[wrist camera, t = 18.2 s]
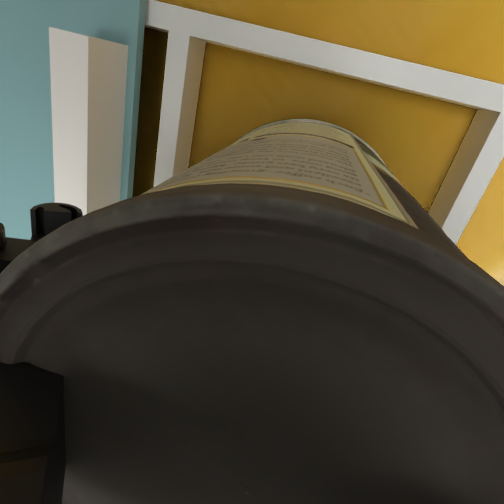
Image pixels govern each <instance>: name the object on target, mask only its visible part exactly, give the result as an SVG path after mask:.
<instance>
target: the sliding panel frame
mask: <svg viewBox="0 0 504 504" xmlns="http://www.w3.org/2000/svg"><path fill="white" fill-rule="evenodd" d="M145 27H147V28H151V29H155V30H159V31H163V32H167V33H168V44H167V54H166V64H165V74H164V84H163V95H162V105H161V115H160V125H159V135H158V145H157V156H156V166H155V176H154V186H153V187H155V186H157V185H159V184H161V183H162V182H164V181H166V180H167V179H169V178H171V177H173V176H175V175H177V174H179V173H181V172H182V171H184V170H186V169H188V166H189V159H190V152H191V145H192V138H193V131H194V124H195V117H196V110H197V103H198V96H199V88H200V81H201V74H202V67H203V60H204V53H205V46H206V42H207V43H211V44H215V45H219V46H223V47H227V48H232V49H236V50H240V51H244V52H248V53H252V54H256V55H260V56H264V57H268V58H272V59H276V60H280V61H284V62H288V63H292V64H296V65H300V66H304V67H308V68H312V69H316V70H320V71H325V72H329V73H333V74H337V75H341V76H345V77H349V78H353V79H357V80H361V81H365V82H369V83H373V84H377V85H381V86H385V87H389V88H393V89H397V90H401V91H405V92H409V93H413V94H418V95H422V96H426V97H430V98H434V99H438V100H442V101H446V102H450V103H454V104H458V105H462V106H466V107H470V108H474V109H478V110H477V112H476V114H475V116H474V118H473V120H472V122H471V124H470V127H469V129H468V131H467V133H466V135H465V137H464V139H463V141H462V143H461V145H460V147H459V149H458V152H457V154H456V156H455V158H454V160H453V162H452V164H451V166H450V168H449V170H448V172H447V174H446V177H445V179H444V181H443V183H442V185H441V187H440V189H439V191H438V193H437V195H436V197H435V199H434V202H433V204H432V206H431V208H430V210H429V212H428V214H429V215H430V216H431V217H432V218H433V220H434V221H435V222H436V223H437V224H438V225H439V226H440V227H441V228H442V230H443V231H444V232H445V234H446V235H447V236H448V237H449V238H450V239H451V240H452V241H453V242H454V243H455V245H456V244H457V242H458V240H459V238H460V236H461V234H462V233H463V231H464V229H465V227H466V225H467V223H468V221H469V220H470V218H471V216H472V214H473V212H474V210H475V209H476V207H477V205H478V203H479V201H480V199H481V197H482V196H483V194H484V192H485V190H486V188H487V186H488V185H489V183H490V181H491V179H492V177H493V175H494V173H495V172H496V170H497V168H498V166H499V164H500V162H501V161H502V159H503V157H504V85H503V84H499V83H495V82H491V81H486V80H482V79H478V78H474V77H470V76H466V75H462V74H457V73H453V72H449V71H445V70H441V69H437V68H433V67H428V66H424V65H420V64H416V63H412V62H408V61H404V60H399V59H395V58H391V57H387V56H383V55H379V54H375V53H371V52H366V51H362V50H358V49H354V48H350V47H346V46H342V45H337V44H333V43H329V42H325V41H321V40H317V39H313V38H308V37H304V36H300V35H296V34H292V33H288V32H284V31H279V30H275V29H271V28H267V27H263V26H259V25H255V24H250V23H246V22H242V21H238V20H234V19H230V18H226V17H221V16H217V15H213V14H209V13H205V12H201V11H197V10H192V9H188V8H184V7H180V6H176V5H172V4H168V3H163V2H159V1H155V0H146V13H145Z"/></svg>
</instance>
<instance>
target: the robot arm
mask: <svg viewBox="0 0 504 504" xmlns="http://www.w3.org/2000/svg"><path fill="white" fill-rule="evenodd" d="M30 216H31V232H32V237H31V239H30V240H28V239H18V238H10V237H6V236H5V227H4V225H3V224H2V223H0V274H1V272H2V271H3V270H4V269H5V268H6V267H7V266H8V265H9V264H10V263H11V262H12V261H13V260H14V259H15V258H16V257H17V256H18V255H20V254H21V253H22V252H23V251H25V250H26V249H27V248H29V247H30V246H31V245H33V244H34V243H35V242H37V241H38V240H40V239H41V238H43V237H45V236H46V235H48V234H49V233H51V232H53V231H54V230H56V229H58V228H59V227H61V226H62V225H64V224H66V223H68V222H70V221H72V220H75V219H77V218H79V217H81V216H83V213H82V210H81V209H79V208H78V207H76V206H73V205H70V204H65V203H43V204H39V205H36V206H34V207H32V208H31V209H30ZM65 468H66V457H65V417H64V376H62V375H60V374H57V373H54V372H51V371H48V370H45V369H43V368H40V367H37V366H35V365H33V364H31V363H29V362H20V363H15V364H5V363H2V362H0V504H62V497H63V487H64V477H65Z"/></svg>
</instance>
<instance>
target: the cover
mask: <svg viewBox="0 0 504 504" xmlns="http://www.w3.org/2000/svg"><path fill="white" fill-rule="evenodd" d="M145 13H146V0H0V223H2V224H3V225H4V227H5V236H6V237H10V238H18V239H28V240H30V239H31V237H32V232H31V216H30V209H31V208H32V207H34V206H36V205H39V204H43V203H65V204H70V205H73V206H76V207H78V208H79V209H81V210H82V213H83V216H84V215H86V214H88V213H90V212H92V211H95V210H98V209H101V208H103V207H106V206H109V205H111V204H114V203H117V202H120V201H122V200H125V199H129V198H132V195H133V181H134V167H135V153H136V139H137V125H138V111H139V97H140V83H141V69H142V55H143V41H144V27H145Z"/></svg>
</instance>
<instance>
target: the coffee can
mask: <svg viewBox="0 0 504 504" xmlns="http://www.w3.org/2000/svg"><path fill="white" fill-rule="evenodd" d="M0 362H2V363H5V364H15V363H20V362H29V363H31V364H33V365H35V366H37V367H40V368H43V369H45V370H48V371H51V372H54V373H57V374H60V375H62V376H64V417H65V457H66V468H65V477H64V487H63V497H62V504H504V286H503V285H501V284H500V283H499V282H498V281H496V280H495V279H494V278H493V277H491V276H490V275H489V274H488V273H486V272H485V271H484V270H483V269H481V268H480V267H479V266H478V265H476V264H475V263H473V262H472V261H471V260H469V259H468V258H467V257H466V256H465V255H464V254H463V253H462V252H461V250H460V249H459V248H458V247H457V246H456V245H455V243H454V242H453V241H452V240H451V239H450V238H449V237H448V236H447V235H446V234H445V232H444V231H443V230H442V228H441V227H440V226H439V225H438V224H437V223H436V222H435V221H434V220H433V218H432V217H431V216H430V215H429V214H428V213H427V212H426V211H425V210H424V209H423V207H422V206H421V205H420V204H419V203H418V202H417V201H416V200H415V199H414V198H413V197H412V196H411V194H410V193H409V192H408V191H407V190H406V189H405V188H404V186H403V185H402V184H401V183H400V182H399V181H398V180H397V178H396V177H395V176H394V175H393V173H392V172H391V171H390V170H389V169H388V167H387V166H386V165H385V163H384V161H383V160H382V159H381V157H380V156H379V155H378V154H377V152H376V151H375V150H374V149H373V148H372V147H371V146H370V145H368V144H367V143H366V142H365V141H364V140H362V139H361V138H360V137H358V136H357V135H355V134H354V133H352V132H351V131H349V130H347V129H345V128H343V127H341V126H338V125H335V124H332V123H328V122H324V121H320V120H313V119H288V120H281V121H277V122H272V123H268V124H265V125H263V126H260V127H258V128H256V129H254V130H252V131H250V132H249V133H247V134H245V135H244V136H242V137H241V138H240V139H238V140H237V141H236V142H235V143H233V144H231V145H229V146H227V147H226V148H224V149H222V150H220V151H218V152H217V153H215V154H213V155H211V156H209V157H208V158H206V159H204V160H202V161H200V162H199V163H197V164H195V165H193V166H191V167H190V168H188V169H186V170H184V171H182V172H181V173H179V174H177V175H175V176H173V177H171V178H169V179H167V180H166V181H164V182H162V183H161V184H159V185H157V186H155V187H153V188H152V189H150V190H148V191H146V192H144V193H142V194H141V195H139V196H136V197H132V198H129V199H125V200H122V201H120V202H117V203H114V204H111V205H109V206H106V207H103V208H101V209H98V210H95V211H92V212H90V213H88V214H86V215H84V216H81V217H79V218H77V219H75V220H72V221H70V222H68V223H66V224H64V225H62V226H61V227H59V228H58V229H56V230H54V231H53V232H51V233H49V234H48V235H46V236H45V237H43V238H41V239H40V240H38V241H37V242H35V243H34V244H33V245H31V246H30V247H29V248H27V249H26V250H25V251H23V252H22V253H21V254H20V255H18V256H17V257H16V258H15V259H14V260H13V261H12V262H11V263H10V264H9V265H8V266H7V267H6V268H5V269H4V270H3V271H2V272H1V274H0Z"/></svg>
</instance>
